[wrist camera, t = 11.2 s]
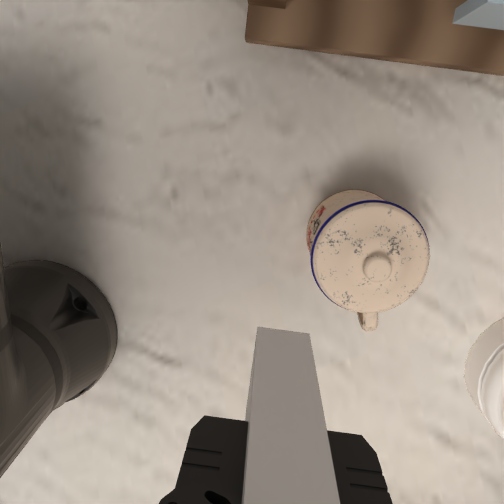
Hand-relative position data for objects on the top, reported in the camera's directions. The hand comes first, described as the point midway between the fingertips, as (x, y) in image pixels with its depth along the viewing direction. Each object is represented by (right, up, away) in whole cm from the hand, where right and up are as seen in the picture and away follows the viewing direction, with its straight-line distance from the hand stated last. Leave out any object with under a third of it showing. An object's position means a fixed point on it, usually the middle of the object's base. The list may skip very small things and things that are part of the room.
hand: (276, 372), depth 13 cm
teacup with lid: (+9, +4, +30) cm, 32 cm away
